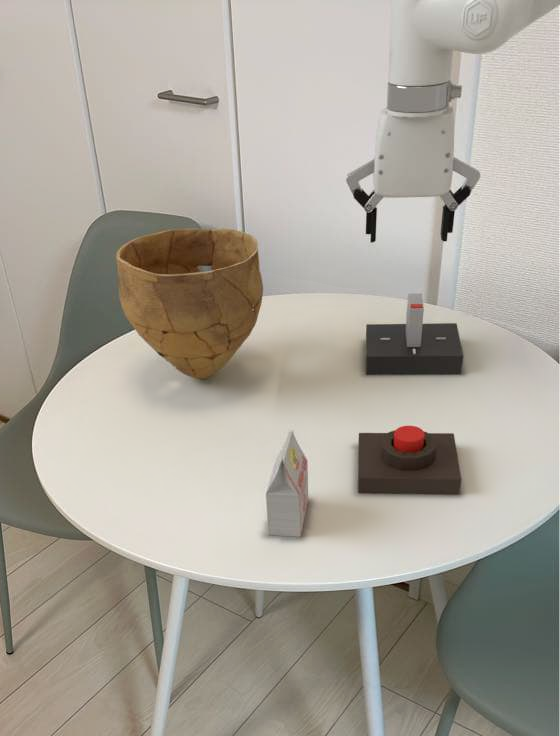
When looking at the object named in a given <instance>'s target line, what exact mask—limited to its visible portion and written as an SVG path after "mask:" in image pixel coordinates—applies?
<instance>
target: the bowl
mask: <svg viewBox="0 0 560 736" xmlns="http://www.w3.org/2000/svg"><path fill="white" fill-rule="evenodd" d="M258 246H259V243H258V240H257V238H256V237H255V236H254V235H253V234H251V233H249V232H246V231H241V230H236V229H231V228H178V229H177V228H174V229H168V230H163V231H158V232H155V233H150V234H147V235H142V236H139V237H136V238H134V239H131V240H130V241H127V242H125V243H124V244H122V245H121V246H120V248H119V249H117V251H116V253H115V260H116V264H117V274H118V294H119V295H118V296H119V302H120V304H121V307H122V310H123V313H124V315H125V317H126V319H127V320H128V322H129V323H130V324H131V326H132V328H133V329H134V330H135V331H136V333H137V335H138V336H139V337H140V338H141V339H142V340H143V341H144V342H145V343H146V344H147V345H148V346H149V347H150V348H151V349H153V350H154V351H155V352H156V353H157V355H159V356H160V357H161V358H163V359H164V361H166V362H168V364H169V363H170V364H171V365H172V366H173V367H174V368H175V370H177V371H178V372H180V373H182V374H183V375H185V376H188V377H190V378H193V379H197V380H203V379H204V380H205V379H209V378H210V377H213V376H214V375H215V374H217V373H218V372H219V371H220V370H222V368H224V367H225V366H226V365H227V364H228V362H230V360H231V359H232V357H234V356H235V354H236V352H237V351H238V350H239V349H240V348H241V346H242V345H243V344H244V343H245V341H246V340H247V339H248V338H249V337H250V336H251V333H252V331H253V330H254V328H255V325H256V324H257V321H258V317H259V313H260V310H261V307H262V302H263V295H264V285H263V277H262V273H261V270H260V258H259V247H258ZM199 267H211V269H210V270H207V271H206V270H205V271H201V269H199Z"/></svg>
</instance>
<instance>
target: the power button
mask: <svg viewBox="0 0 560 736" xmlns="http://www.w3.org/2000/svg"><path fill="white" fill-rule="evenodd" d="M424 432H425V431H424V430H423V429H422V428H421V427H418V426H415V425H402V426H399V427H398V428H396V429H395V432H394V448H395V449H396V450H399V451H402V452H417V451H420V450H422V449H423V446H424V435H425V434H424Z"/></svg>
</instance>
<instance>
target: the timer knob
mask: <svg viewBox="0 0 560 736" xmlns="http://www.w3.org/2000/svg"><path fill="white" fill-rule="evenodd" d="M406 305H407V306H406V318H405V324H406V341H407V347H421V336H422V324H424V323H423V322H424V311H425V306H424V300H423V294H422V293H408V294H407V304H406Z"/></svg>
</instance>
